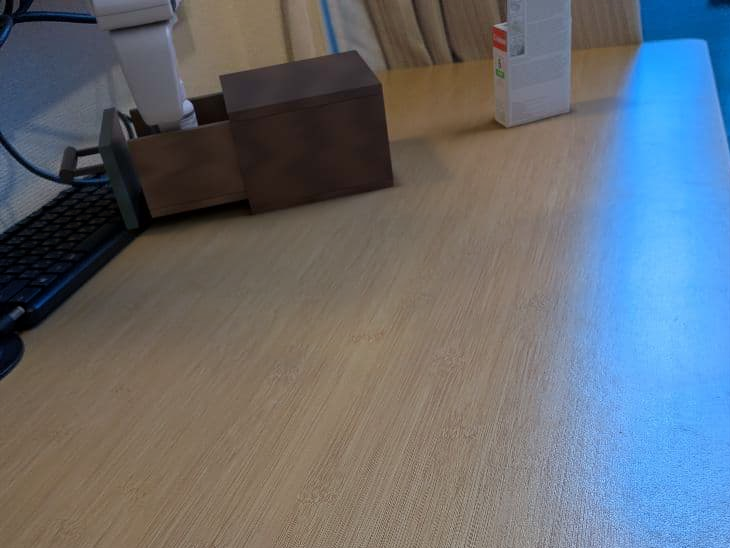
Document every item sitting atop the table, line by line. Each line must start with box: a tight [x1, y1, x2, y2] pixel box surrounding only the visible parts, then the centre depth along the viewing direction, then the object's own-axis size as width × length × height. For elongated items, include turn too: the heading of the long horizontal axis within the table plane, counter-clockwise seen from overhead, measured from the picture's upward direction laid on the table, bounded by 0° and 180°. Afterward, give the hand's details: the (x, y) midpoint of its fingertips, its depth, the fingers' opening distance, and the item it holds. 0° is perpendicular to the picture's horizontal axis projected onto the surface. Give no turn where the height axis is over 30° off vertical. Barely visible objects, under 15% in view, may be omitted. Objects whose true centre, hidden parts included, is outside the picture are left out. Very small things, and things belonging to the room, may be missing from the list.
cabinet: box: [218, 49, 395, 216], centre depth 85 cm, size 15×14×10 cm
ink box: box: [492, 0, 572, 129], centre depth 90 cm, size 4×8×15 cm, turn 110°
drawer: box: [58, 91, 248, 231], centre depth 84 cm, size 18×13×8 cm
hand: (178, 145), depth 83 cm, fingers closed on pill bottle, 5 cm apart
